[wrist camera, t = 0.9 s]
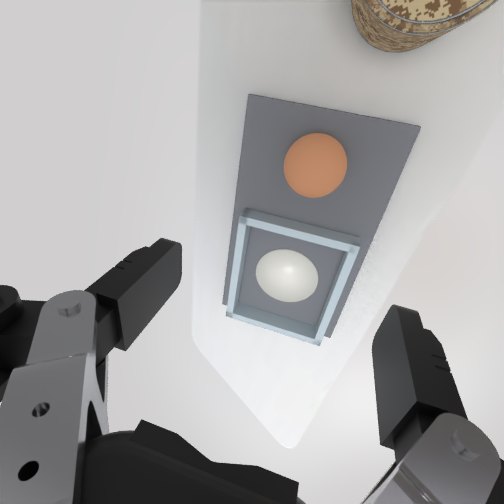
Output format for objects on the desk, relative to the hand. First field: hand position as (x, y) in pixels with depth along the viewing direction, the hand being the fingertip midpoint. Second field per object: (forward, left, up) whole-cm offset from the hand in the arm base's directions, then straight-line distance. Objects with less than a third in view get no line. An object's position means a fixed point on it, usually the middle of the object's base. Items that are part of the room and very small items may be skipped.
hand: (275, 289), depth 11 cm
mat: (+7, 0, -19) cm, 20 cm away
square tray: (+12, 0, -18) cm, 22 cm away
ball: (-1, 0, -18) cm, 18 cm away
